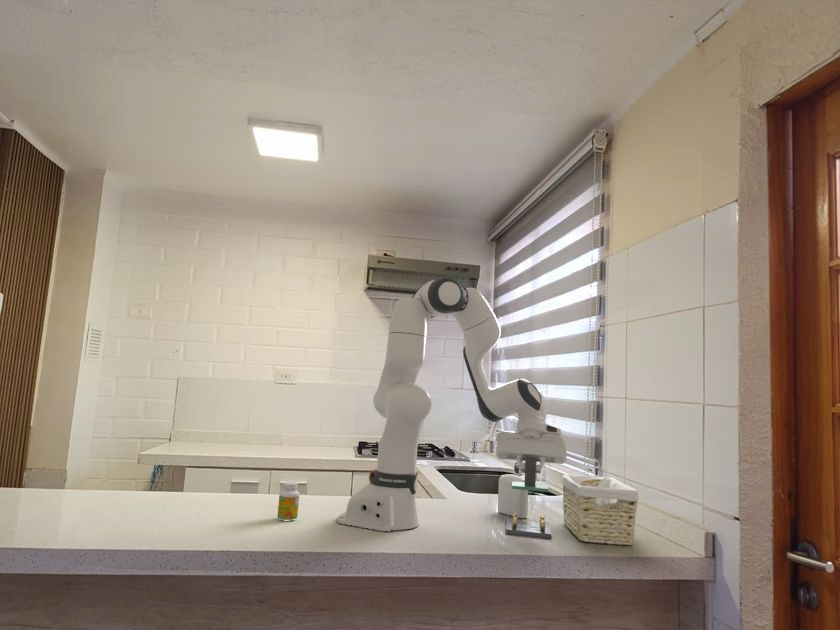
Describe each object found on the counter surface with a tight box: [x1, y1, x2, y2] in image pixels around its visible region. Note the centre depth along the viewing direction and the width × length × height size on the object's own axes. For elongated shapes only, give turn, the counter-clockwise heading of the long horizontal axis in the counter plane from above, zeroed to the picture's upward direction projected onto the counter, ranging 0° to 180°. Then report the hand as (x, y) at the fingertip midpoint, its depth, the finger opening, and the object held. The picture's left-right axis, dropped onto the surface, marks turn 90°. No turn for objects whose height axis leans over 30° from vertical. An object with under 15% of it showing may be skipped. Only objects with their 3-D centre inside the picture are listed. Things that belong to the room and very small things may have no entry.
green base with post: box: [512, 455, 549, 493], centre depth 153 cm, size 10×8×9 cm
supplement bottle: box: [276, 481, 300, 521], centre depth 148 cm, size 5×5×10 cm
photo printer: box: [497, 473, 529, 519], centre depth 170 cm, size 10×4×12 cm, turn 39°
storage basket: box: [561, 473, 639, 546], centre depth 153 cm, size 24×16×15 cm
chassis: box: [505, 513, 552, 540], centre depth 151 cm, size 12×12×4 cm
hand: (530, 471), depth 153 cm, fingers closed on green base with post, 3 cm apart
